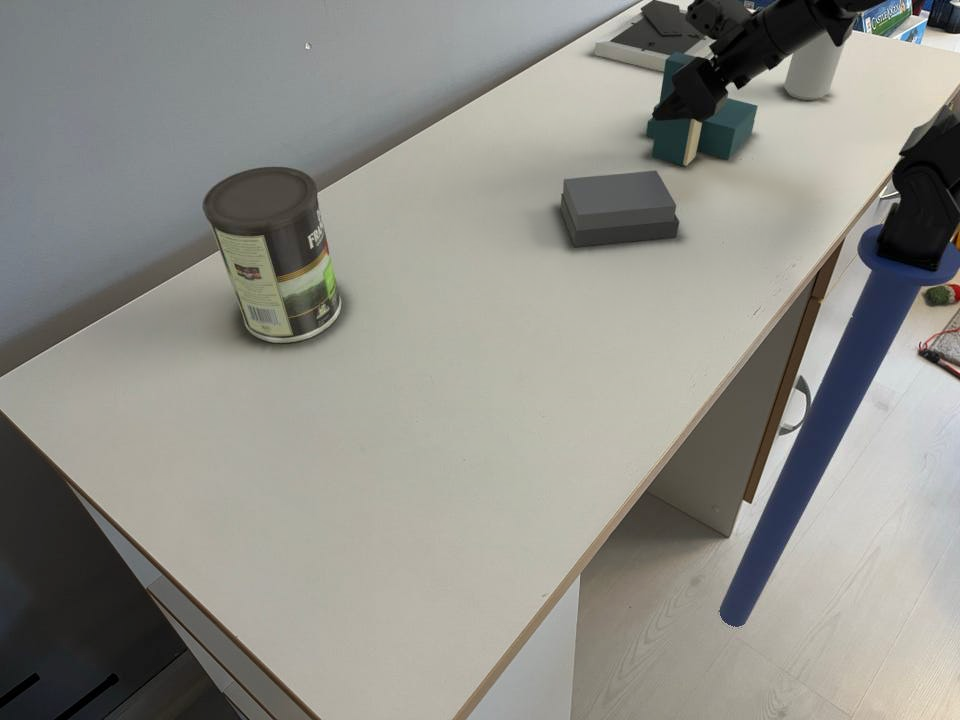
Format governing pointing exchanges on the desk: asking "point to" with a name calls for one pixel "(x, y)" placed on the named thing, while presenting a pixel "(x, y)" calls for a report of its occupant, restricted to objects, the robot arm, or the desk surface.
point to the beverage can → (813, 69)
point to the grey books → (618, 208)
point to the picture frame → (654, 37)
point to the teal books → (722, 129)
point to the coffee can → (275, 252)
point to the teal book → (676, 122)
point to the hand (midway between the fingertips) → (670, 102)
